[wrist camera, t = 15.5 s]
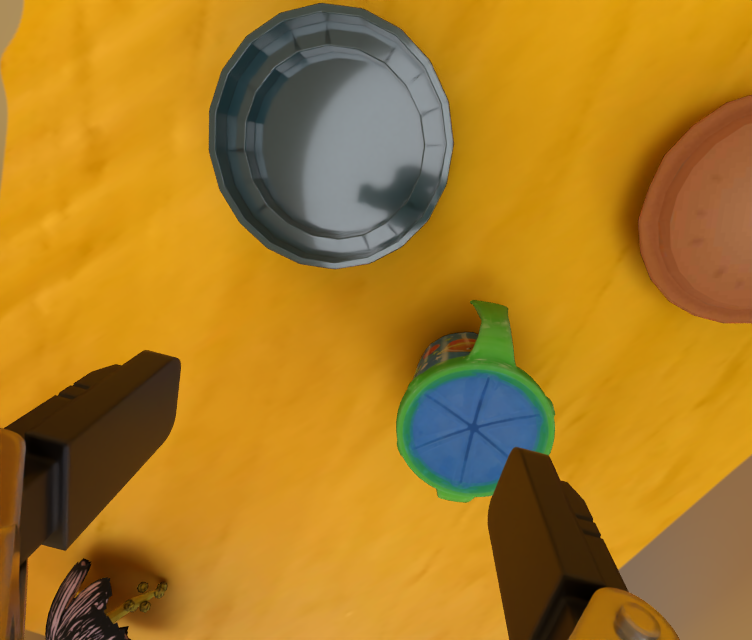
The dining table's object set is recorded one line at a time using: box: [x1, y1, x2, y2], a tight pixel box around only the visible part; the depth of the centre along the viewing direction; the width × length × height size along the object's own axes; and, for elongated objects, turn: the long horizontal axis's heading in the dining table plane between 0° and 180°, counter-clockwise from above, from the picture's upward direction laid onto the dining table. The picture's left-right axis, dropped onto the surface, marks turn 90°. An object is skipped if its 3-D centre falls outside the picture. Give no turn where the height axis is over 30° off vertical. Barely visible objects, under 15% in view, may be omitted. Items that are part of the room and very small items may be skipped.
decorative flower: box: [45, 558, 167, 640], centre depth 48 cm, size 15×12×15 cm
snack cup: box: [396, 300, 555, 503], centre depth 36 cm, size 16×10×10 cm
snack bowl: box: [209, 3, 454, 269], centre depth 33 cm, size 17×17×4 cm
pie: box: [638, 95, 752, 323], centre depth 32 cm, size 15×16×5 cm
